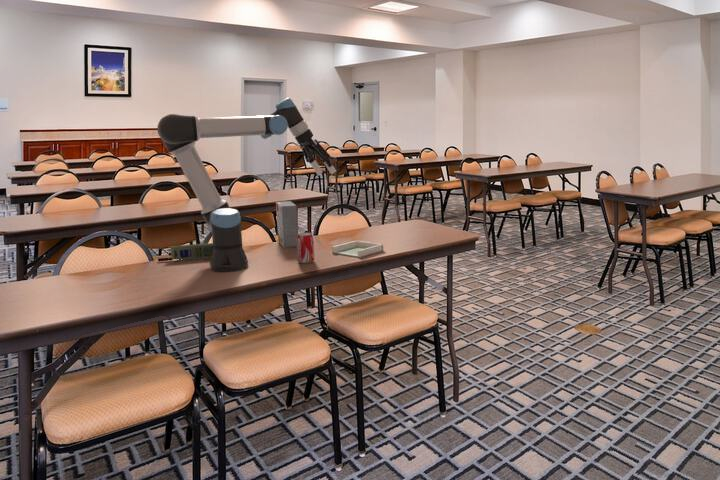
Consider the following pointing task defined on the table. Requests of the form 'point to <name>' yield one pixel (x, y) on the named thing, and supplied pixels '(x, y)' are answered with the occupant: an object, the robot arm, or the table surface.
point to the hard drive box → (287, 223)
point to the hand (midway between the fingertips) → (327, 173)
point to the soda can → (305, 247)
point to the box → (357, 249)
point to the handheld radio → (190, 252)
